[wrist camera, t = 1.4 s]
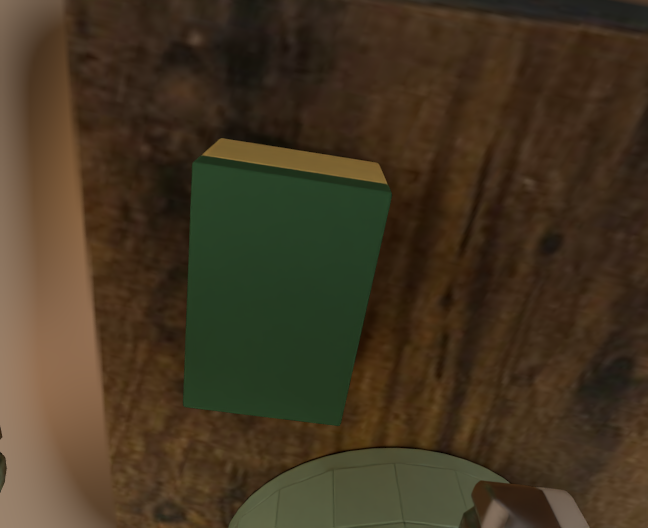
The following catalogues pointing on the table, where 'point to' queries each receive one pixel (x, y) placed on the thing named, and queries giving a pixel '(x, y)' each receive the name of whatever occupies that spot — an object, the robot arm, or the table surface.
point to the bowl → (367, 492)
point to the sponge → (279, 278)
